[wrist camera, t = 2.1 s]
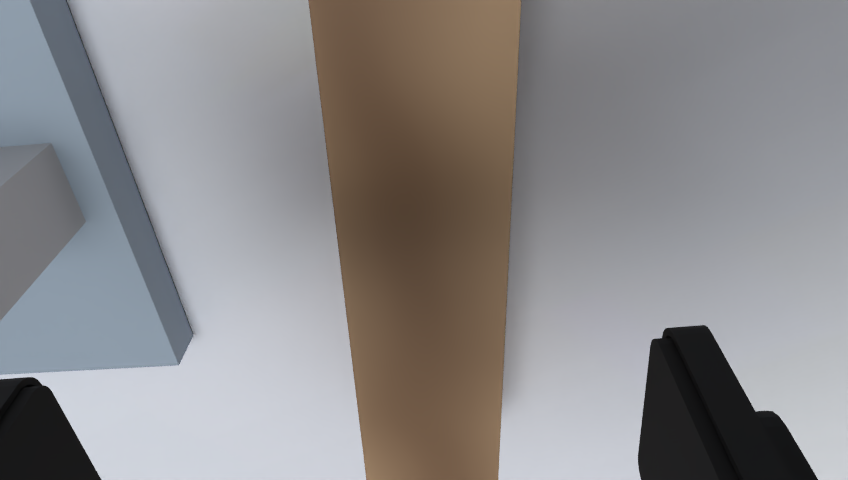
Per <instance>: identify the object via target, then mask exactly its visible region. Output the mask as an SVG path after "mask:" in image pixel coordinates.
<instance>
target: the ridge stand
mask: <svg viewBox="0 0 848 480" xmlns="http://www.w3.org/2000/svg"><path fill="white" fill-rule="evenodd" d="M192 337H193V334H192V331H191V328H190V326H189V323H188V320H187V318H186V315H185V312H184V310H183V307H182V305H181V302H180V299H179V297H178V294H177V291H176V289H175V286H174V284H173V281H172V278H171V276H170V273H169V270H168V268H167V265H166V263H165V260H164V257H163V255H162V252H161V249H160V247H159V244H158V241H157V239H156V236H155V234H154V231H153V228H152V226H151V223H150V220H149V218H148V215H147V213H146V210H145V207H144V205H143V202H142V199H141V197H140V194H139V191H138V189H137V186H136V184H135V181H134V178H133V176H132V173H131V170H130V168H129V165H128V163H127V160H126V157H125V155H124V152H123V149H122V147H121V144H120V141H119V139H118V136H117V134H116V131H115V128H114V126H113V123H112V120H111V118H110V115H109V113H108V110H107V107H106V105H105V102H104V99H103V97H102V94H101V92H100V89H99V86H98V84H97V81H96V78H95V76H94V73H93V70H92V68H91V65H90V63H89V60H88V57H87V55H86V52H85V49H84V47H83V44H82V42H81V39H80V36H79V34H78V31H77V28H76V26H75V23H74V20H73V18H72V15H71V13H70V10H69V7H68V5H67V2H66V0H0V375H2V374H21V373H40V372H59V371H78V370H97V369H116V368H135V367H154V366H173V365H179V364H180V362H181V360H182V358H183V355H184V353H185V351H186V349H187V347H188V345H189V343H190V341H191V339H192Z"/></svg>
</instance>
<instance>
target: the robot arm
mask: <svg viewBox="0 0 848 480" xmlns="http://www.w3.org/2000/svg"><path fill="white" fill-rule="evenodd" d="M638 465H639V472H640V477H641V480H818V479H817V477H816V475H815V474H814V472H813V470H812V469H811V467H810V465H809V464H808V462H807V460H806V459H805V457H804V455H803V454H802V452H801V450H800V448H799V447H798V445H797V443H796V442H795V440H794V438H793V437H792V435H791V433H790V432H789V430H788V428H787V427H786V425H785V424H784V422H783V421H782V420H781V418H780V417H779V416H778V415H776V414H775V413H774V412H772V411H757V412H755V410H754V408H753V407H752V405H751V403H750V401H749V399H748V398H747V396H746V394H745V392H744V390H743V389H742V387H741V385H740V383H739V381H738V380H737V378H736V376H735V374H734V372H733V371H732V369H731V367H730V365H729V363H728V362H727V360H726V358H725V356H724V354H723V353H722V351H721V349H720V347H719V345H718V344H717V342H716V340H715V338H714V336H713V335H712V333H711V331H710V330H709V329H708V327H706V326H705V325H702V326H689V327H676V328H666V329H665V330H664V332H663V336H662V338H660V339H653V340H652V342H651V346H650V355H649V364H648V373H647V382H646V391H645V399H644V408H643V417H642V426H641V435H640V444H639V452H638ZM0 480H101V479H100V477H99V475H98V473H97V471H96V470H95V468H94V466H93V464H92V463H91V461H90V459H89V457H88V455H87V454H86V452H85V450H84V448H83V446H82V445H81V443H80V441H79V439H78V438H77V436H76V434H75V432H74V430H73V429H72V427H71V425H70V423H69V421H68V420H67V418H66V416H65V414H64V413H63V411H62V409H61V407H60V405H59V404H58V402H57V400H56V398H55V397H54V395H53V393H52V391H51V390H50V389H49V388H48V387H47V386H42V384H41V383H40V382H39V381H38V380H37V379H35V378H33V377H27V378H14V379H1V380H0Z"/></svg>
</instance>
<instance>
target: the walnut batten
mask: <svg viewBox="0 0 848 480" xmlns="http://www.w3.org/2000/svg"><path fill="white" fill-rule="evenodd" d="M309 8H310V17H311V25H312V33H313V41H314V50H315V58H316V66H317V75H318V83H319V91H320V99H321V108H322V116H323V124H324V132H325V141H326V149H327V157H328V165H329V174H330V182H331V190H332V198H333V207H334V215H335V223H336V232H337V240H338V248H339V256H340V265H341V273H342V281H343V289H344V298H345V306H346V314H347V322H348V331H349V339H350V347H351V355H352V364H353V372H354V380H355V389H356V397H357V405H358V413H359V422H360V430H361V438H362V446H363V455H364V463H365V471H366V479H367V480H498V470H499V449H500V429H501V408H502V387H503V366H504V345H505V325H506V304H507V283H508V262H509V242H510V221H511V200H512V179H513V158H514V138H515V117H516V96H517V75H518V55H519V34H520V13H521V0H309Z"/></svg>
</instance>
